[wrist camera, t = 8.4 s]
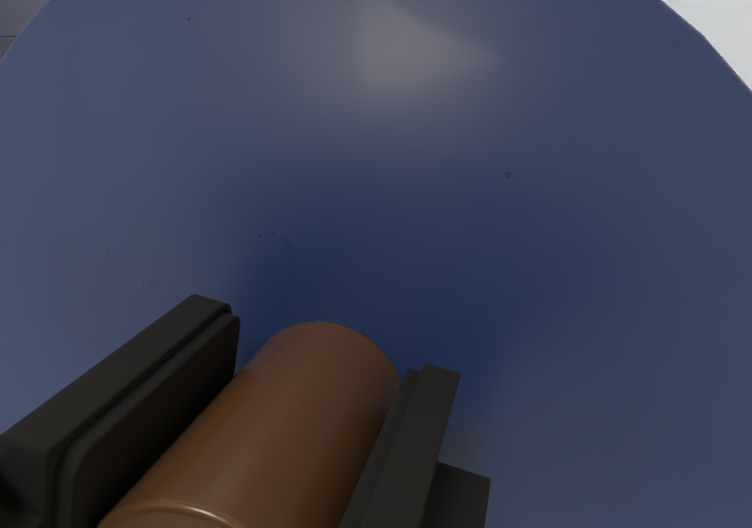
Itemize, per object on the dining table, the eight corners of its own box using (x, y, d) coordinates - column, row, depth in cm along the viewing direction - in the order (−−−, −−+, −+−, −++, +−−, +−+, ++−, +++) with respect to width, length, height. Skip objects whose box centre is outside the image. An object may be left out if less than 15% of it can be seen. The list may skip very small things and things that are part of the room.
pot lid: (-13, -179, 11) (-564, -376, 5) (1026, 14, 8) (1829, -4, 3) (-2, 538, 16) (-273, 787, 11) (630, 779, 14) (674, 1246, 8)
